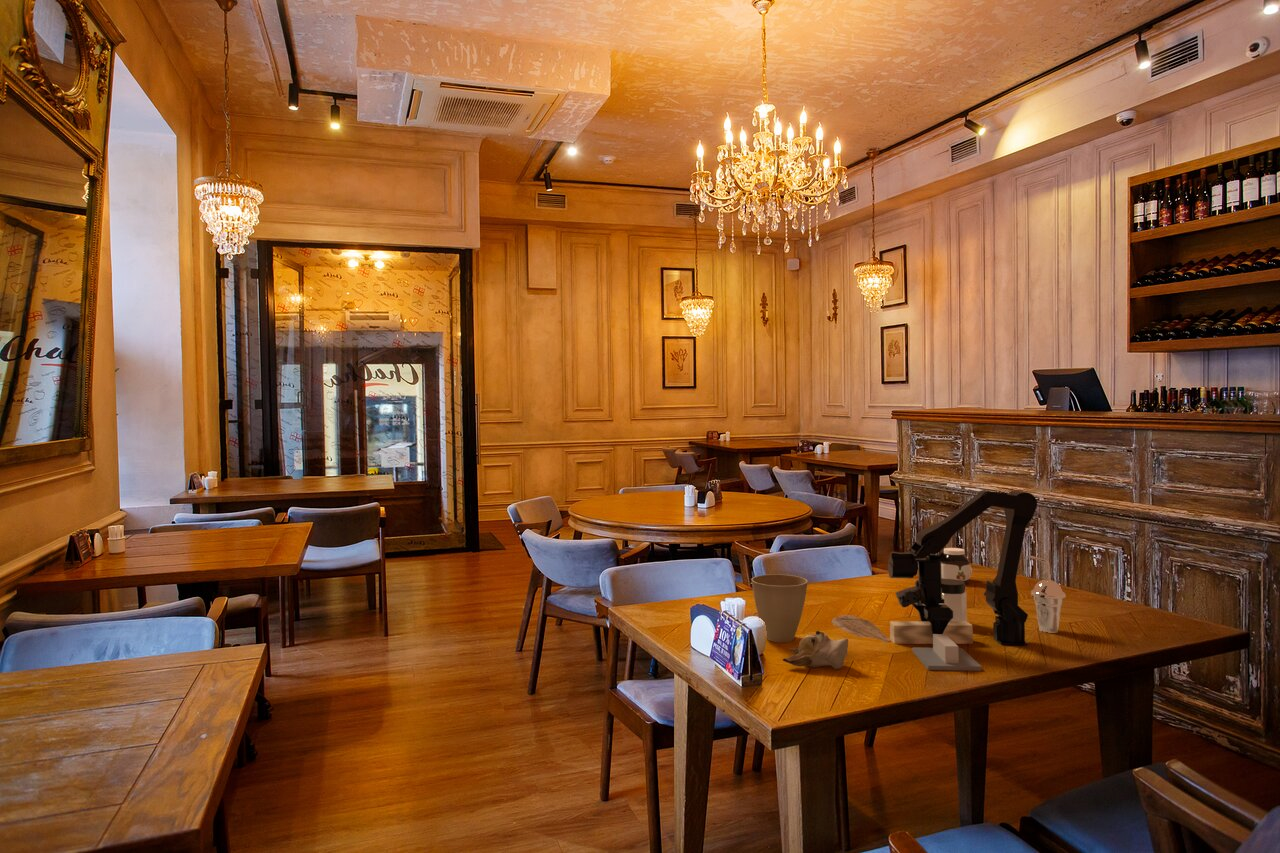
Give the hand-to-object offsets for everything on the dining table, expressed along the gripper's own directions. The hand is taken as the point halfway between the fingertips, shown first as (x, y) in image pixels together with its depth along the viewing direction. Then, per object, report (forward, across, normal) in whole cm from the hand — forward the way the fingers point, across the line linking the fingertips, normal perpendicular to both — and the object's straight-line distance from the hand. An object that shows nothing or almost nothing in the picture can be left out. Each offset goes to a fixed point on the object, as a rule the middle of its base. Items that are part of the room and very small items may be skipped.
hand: (930, 637), depth 198 cm
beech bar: (+1, 0, 0) cm, 1 cm away
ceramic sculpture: (+1, +21, -32) cm, 38 cm away
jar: (+1, -17, +10) cm, 20 cm away
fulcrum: (+1, +16, -1) cm, 16 cm away
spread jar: (+1, -73, +29) cm, 79 cm away
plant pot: (+1, -1, -39) cm, 39 cm away
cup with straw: (+1, -11, +34) cm, 36 cm away
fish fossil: (+2, -10, -16) cm, 19 cm away
